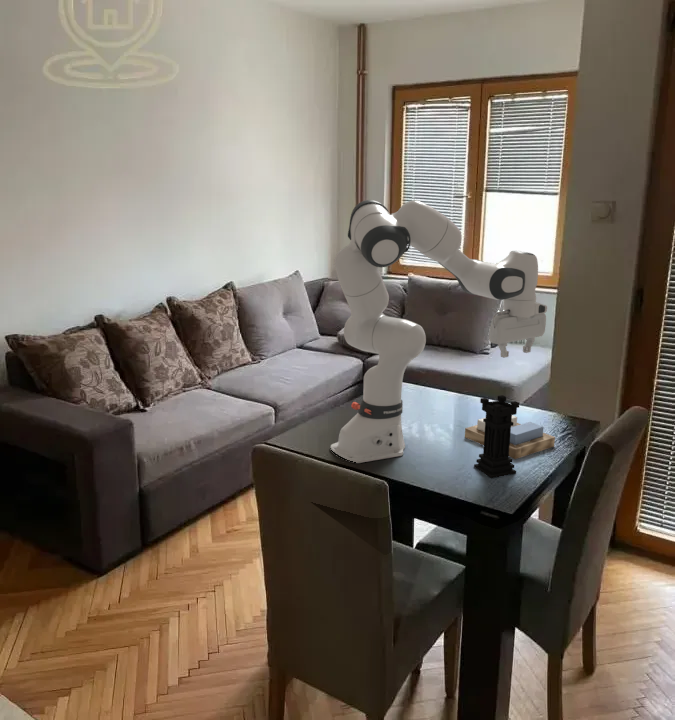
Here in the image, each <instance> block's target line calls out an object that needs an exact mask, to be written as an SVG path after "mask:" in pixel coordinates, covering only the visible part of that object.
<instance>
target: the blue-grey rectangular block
mask: <svg viewBox="0 0 675 720" xmlns="http://www.w3.org/2000/svg"><path fill="white" fill-rule="evenodd" d="M520 424H521V423H520ZM543 433H544V426H543V425H540V424H538V423H535V422H532V421H529V422H525V423H522V424H521V425H517V426H514V427H511V433H510V443H512V444H513V445H518V444H521V443H524V442H527V441H530V440H532V439H535V438H538V437H542V436H543Z"/></svg>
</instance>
